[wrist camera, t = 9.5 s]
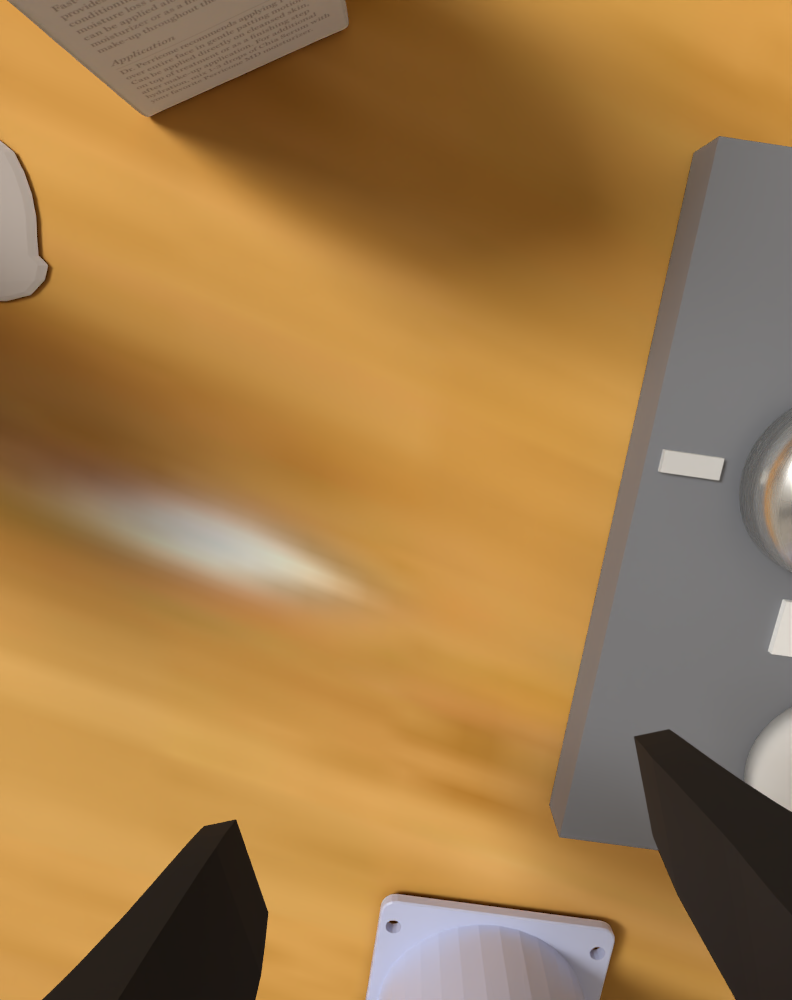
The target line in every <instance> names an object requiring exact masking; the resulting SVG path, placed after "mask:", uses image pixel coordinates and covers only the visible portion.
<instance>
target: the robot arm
mask: <svg viewBox="0 0 792 1000" xmlns="http://www.w3.org/2000/svg"><path fill="white" fill-rule="evenodd" d="M634 740H635V746H636V751H637V756H638V761H639V767H640V772H641V777H642V782H643V788H644V793H645V798H646V804H647V809H648V814H649V819H650V825H651V830H652V835H653V838H654V841H655V843H656V845H657V848H658V850H659V853H660V855H661V857H662V860H663V862H664V865H665V867H666V869H667V872H668V874H669V876H670V879H671V881H672V883H673V885H674V888H675V890H676V892H677V895H678V897H679V898H680V900H681V902H682V904H683V906H684V908H685V909H686V911H687V913H688V915H689V917H690V918H691V920H692V922H693V924H694V926H695V927H696V929H697V931H698V933H699V935H700V936H701V938H702V940H703V942H704V944H705V945H706V947H707V949H708V951H709V953H710V954H711V956H712V958H713V960H714V962H715V963H716V965H717V967H718V969H719V970H720V972H721V974H722V976H723V978H724V979H725V981H726V983H727V985H728V987H729V988H730V990H731V992H732V994H733V995H734V997H735V999H736V1000H792V812H791V811H789V810H788V809H786V808H784V807H783V806H781V805H779V804H778V803H776V802H775V801H773V800H771V799H770V798H768V797H767V796H765V795H764V794H762V793H761V792H759V791H758V790H756V789H755V788H753V787H751V786H750V785H748V784H747V783H745V782H744V781H742V780H741V779H739V778H738V777H736V776H735V775H733V774H732V773H731V772H729V771H728V770H726V769H725V768H723V767H722V766H720V765H719V764H718V763H716V762H715V761H713V760H712V759H711V758H709V757H708V756H706V755H705V754H704V753H702V752H701V751H699V750H698V749H697V748H695V747H694V746H693V745H691V744H690V743H688V742H687V741H686V740H684V739H683V738H681V737H680V736H679V735H677V734H676V733H674V732H673V731H671V730H670V729H667V730H662V731H657V732H653V733H648V734H643V735H638V736H634ZM267 920H268V911H267V908H266V905H265V902H264V899H263V896H262V893H261V890H260V888H259V885H258V882H257V879H256V876H255V873H254V870H253V867H252V864H251V861H250V859H249V856H248V853H247V850H246V847H245V844H244V841H243V838H242V835H241V832H240V830H239V827H238V824H237V821H236V820H232V821H227V822H222V823H217V824H212V825H208V826H204V827H203V828H202V829H201V830H200V831H199V832H198V833H197V834H196V835H195V836H194V837H193V838H192V839H191V840H190V841H189V843H188V844H187V845H186V846H185V847H184V848H183V849H182V850H181V852H180V853H179V854H178V855H177V856H176V857H175V858H174V860H173V861H172V862H171V863H170V864H169V865H168V866H167V868H166V869H165V870H164V871H163V872H162V873H161V874H160V876H159V877H158V878H157V879H156V880H155V881H154V882H153V884H152V885H151V886H150V887H149V888H148V889H147V890H146V892H145V893H144V894H143V895H142V896H141V897H140V898H139V899H138V901H137V902H136V903H135V904H134V905H133V906H132V907H131V909H130V910H129V911H128V912H127V913H126V914H125V915H124V916H123V918H122V919H121V920H120V921H119V922H118V923H117V924H116V925H115V926H114V927H113V928H112V929H111V930H110V931H109V932H108V933H107V934H106V936H105V937H104V938H103V939H102V940H101V941H100V942H99V943H98V944H97V945H96V946H95V947H94V948H93V949H92V950H91V951H90V952H89V953H88V955H87V956H86V957H85V958H84V959H83V960H82V961H81V962H80V963H79V964H78V965H77V966H76V967H75V968H74V969H73V970H72V971H71V972H70V973H69V974H68V975H67V976H66V977H65V978H64V979H63V980H62V981H61V982H60V983H59V984H58V985H57V986H56V987H55V988H54V989H53V990H52V991H51V992H50V993H49V994H48V995H47V996H46V997H45V998H43V999H42V1000H255V999H256V994H257V990H258V986H259V981H260V977H261V971H262V963H263V955H264V948H265V939H266V929H267ZM392 920H395V921H398V923H394V924H392V923H390V922H389V921H392ZM614 943H615V937H614V934H613V931H612V929H611V926H610V925H609V924H608V923H606V922H603V921H600V920H592V919H584V918H577V917H569V916H561V915H554V914H546V913H539V912H531V911H523V910H516V909H508V908H501V907H493V906H485V905H478V904H470V903H462V902H455V901H447V900H440V899H432V898H424V897H417V896H409V895H401V894H391V895H389V896H387V897H386V898H384V899H383V901H382V904H381V908H380V915H379V921H378V927H377V933H376V939H375V945H374V951H373V958H372V964H371V970H370V976H369V982H368V988H367V994H366V1000H600V997H601V993H602V989H603V985H604V981H605V977H606V973H607V970H608V966H609V962H610V958H611V954H612V950H613V947H614ZM595 947H600V948H598V949H595V950H592V949H593V948H595Z"/></svg>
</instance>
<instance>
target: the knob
mask: <svg viewBox="0 0 792 1000" xmlns="http://www.w3.org/2000/svg"><path fill="white" fill-rule="evenodd" d="M739 503H740V511H741V516H742V520H743V523H744V525H745V528H746V530H747V532H748V534H749V536H750V537H751V539H752V541H753V542H754V543H755V545H756V546H757V547H758V548H759V550H761V551H762V552H763V553H764V554H765V555H766V556H767V557H768V558H770V559H771V560H773V561H774V562H775V563H777V564H779V565H780V566H782V567H784V568H785V569H787V570H789V571H790V572H792V408H791V409H789V410H788V411H786V412H785V413H783V414H782V415H781V416H780V417H778V418H777V419H776V420H775V421H774V422H773V423H772V424H771V425H770V426H769V427H768V428H767V429H766V430H765V431H764V432H763V434H762V435H761V436H760V437H759V438H758V440H757V442H756V443H755V445H754V446H753V448H752V450H751V452H750V454H749V456H748V458H747V460H746V462H745V466H744V469H743V472H742V476H741V481H740V489H739Z"/></svg>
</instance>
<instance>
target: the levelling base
mask: <svg viewBox="0 0 792 1000" xmlns="http://www.w3.org/2000/svg"><path fill="white" fill-rule="evenodd" d="M791 408H792V147H787V146H780V145H774V144H767V143H761V142H754V141H747V140H741V139H734V138H728V137H721V136H719V137H717V138H716V139H714V140H713V141H711V142H710V143H708V144H707V145H705V146H704V147H702V148H700V149H699V150H697V151H696V152H694V154H693V158H692V163H691V167H690V172H689V176H688V181H687V185H686V190H685V194H684V199H683V203H682V208H681V212H680V217H679V221H678V226H677V230H676V235H675V240H674V244H673V249H672V253H671V258H670V262H669V267H668V271H667V276H666V280H665V285H664V289H663V294H662V298H661V303H660V307H659V312H658V316H657V321H656V325H655V330H654V334H653V339H652V343H651V348H650V353H649V357H648V362H647V366H646V371H645V375H644V380H643V384H642V389H641V393H640V398H639V402H638V407H637V411H636V416H635V420H634V425H633V429H632V434H631V438H630V443H629V447H628V452H627V456H626V461H625V466H624V470H623V475H622V479H621V484H620V488H619V493H618V497H617V502H616V506H615V511H614V515H613V520H612V524H611V529H610V533H609V538H608V542H607V547H606V551H605V556H604V560H603V565H602V569H601V574H600V578H599V583H598V588H597V592H596V597H595V601H594V606H593V610H592V615H591V619H590V624H589V628H588V633H587V637H586V642H585V646H584V651H583V655H582V660H581V664H580V669H579V673H578V678H577V682H576V687H575V691H574V696H573V701H572V705H571V710H570V714H569V719H568V723H567V728H566V732H565V737H564V741H563V746H562V750H561V755H560V759H559V764H558V768H557V773H556V777H555V782H554V786H553V791H552V795H551V800H550V804H549V805H550V809H551V812H552V815H553V818H554V821H555V825H556V828H557V831H558V834H559V837H562V838H570V839H577V840H585V841H592V842H600V843H608V844H615V845H623V846H630V847H638V848H645V849H653V850H658V848H657V845H656V843H655V841H654V838H653V835H652V830H651V825H650V819H649V814H648V809H647V804H646V798H645V793H644V788H643V782H642V777H641V772H640V767H639V761H638V756H637V751H636V746H635V740H634V736H638V735H643V734H648V733H653V732H657V731H662V730H667V729H670V730H671V731H673V732H674V733H676V734H677V735H679V736H680V737H681V738H683V739H684V740H686V741H687V742H688V743H690V744H691V745H693V746H694V747H695V748H697V749H698V750H699V751H701V752H702V753H704V754H705V755H706V756H708V757H709V758H711V759H712V760H713V761H715V762H716V763H718V764H719V765H720V766H722V767H723V768H725V769H726V770H728V771H729V772H731V773H732V774H733V775H735V776H736V777H738V778H739V779H741V780H742V781H744V782H745V783H747V784H748V785H750V786H751V787H753V788H755V789H756V790H758V791H759V792H761V793H762V794H764V795H765V796H767V797H768V798H770V799H771V800H773V801H775V802H776V803H778V804H779V805H781V806H783V807H784V808H786V809H788V810H789V811H791V812H792V572H790V571H789V570H787V569H785V568H784V567H782V566H780V565H779V564H777V563H775V562H774V561H773V560H771V559H770V558H768V557H767V556H766V555H765V554H764V553H763V552H762V551H761V550H759V548H758V547H757V546H756V545H755V543H754V542H753V541H752V539H751V537H750V536H749V534H748V532H747V530H746V528H745V525H744V523H743V520H742V516H741V511H740V503H739V489H740V481H741V476H742V472H743V469H744V466H745V462H746V460H747V458H748V456H749V454H750V452H751V450H752V448H753V446H754V445H755V443H756V442H757V440H758V438H759V437H760V436H761V435H762V434H763V432H764V431H765V430H766V429H767V428H768V427H769V426H770V425H771V424H772V423H773V422H774V421H775V420H776V419H777V418H778V417H780V416H781V415H782V414H783V413H785V412H786V411H788V410H789V409H791Z"/></svg>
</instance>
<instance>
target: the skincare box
mask: <svg viewBox="0 0 792 1000" xmlns="http://www.w3.org/2000/svg"><path fill="white" fill-rule="evenodd" d="M7 1H9V2H10V3H11V4H12V5H13V6H15V7H16V8H17V9H18V10H19V11H21V12H22V13H23V14H24V15H25V16H26V17H28V18H29V19H30V20H31V21H32V22H33V23H35V24H36V25H37V26H38V27H39V28H40V29H42V30H43V31H44V32H45V33H46V34H47V35H48V36H49V37H51V38H52V39H53V40H54V41H55V42H56V43H58V44H59V45H60V46H61V47H62V48H64V49H65V50H66V51H67V52H68V53H70V54H71V55H72V56H73V57H74V58H75V59H76V60H78V61H79V62H80V63H81V64H82V65H83V66H85V67H86V68H87V69H88V70H89V71H91V72H92V73H93V74H94V75H95V76H96V77H98V78H99V79H100V80H101V81H102V82H104V83H105V84H106V85H107V86H108V87H110V88H111V89H112V90H113V91H114V92H115V93H116V94H118V95H119V96H120V97H121V98H122V99H124V100H125V101H126V102H127V103H128V104H129V105H131V106H132V107H133V108H134V109H135V110H137V111H138V112H139V113H141V114H142V115H144V116H147V117H150V116H152V115H154V114H156V113H159V112H161V111H163V110H165V109H167V108H169V107H172V106H174V105H176V104H178V103H181V102H183V101H185V100H187V99H189V98H192V97H194V96H196V95H198V94H201V93H203V92H205V91H207V90H209V89H212V88H214V87H216V86H218V85H221V84H223V83H225V82H227V81H229V80H232V79H234V78H236V77H239V76H241V75H243V74H245V73H247V72H249V71H252V70H254V69H256V68H258V67H260V66H263V65H265V64H267V63H269V62H271V61H274V60H276V59H278V58H280V57H283V56H285V55H287V54H289V53H291V52H294V51H296V50H298V49H300V48H303V47H305V46H307V45H309V44H311V43H313V42H315V41H318V40H320V39H323V38H325V37H328V36H330V35H332V34H334V33H337V32H339V31H342V30H344V29H345V28H346V27H348V25H349V19H348V13H347V7H346V2H345V0H7Z"/></svg>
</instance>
